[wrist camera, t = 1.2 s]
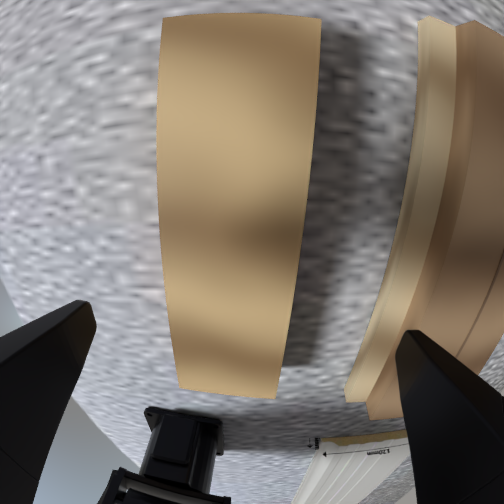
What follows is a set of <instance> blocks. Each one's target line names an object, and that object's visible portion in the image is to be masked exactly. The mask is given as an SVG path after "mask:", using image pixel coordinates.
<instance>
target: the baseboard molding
mask: <svg viewBox="0 0 504 504" xmlns="http://www.w3.org/2000/svg"><path fill="white" fill-rule="evenodd" d="M315 439H318V438H315ZM319 439H320V438H319ZM309 441H310V438H309ZM318 442H319V441H318V440H315V444H318V445H315V446H318V447H315V448H316V449H315V450H316V451H315V454H314V456H313V458H312V461H311V463H310V465H309V467H308V469H307V472H306V474H305V476H304V478H303V480H302V482H301V484H300V486H299V488H298V490H297V492H296V494H295V496H294V498H293V500H292V502H291V504H358V503H359V502H360V501H362V500H363V499H364V498H365V497H366V496H367V495H369V494H370V493H371V492H372V491H373V490H374V489H375V488H376V487H378V486H379V485H380V484H381V483H382V482H383V481H384V480H385V479H386V478H387V477H388V476H389V475H390V474H391V473H392V472H393V471H394V470H395V469H396V468H397V467H398V466H399V465H400V464H401V463H402V462H403V461H404V460H405V459H406V458H407V457H408V456H409V455H410V448H409V442H408V437H407V431H406V430H400V431H393V432H386V433H378V434H370V435H360V436H349V437H335V438H321V440H320V442H319V443H318ZM308 447H309V448H311V447H312V446H308Z"/></svg>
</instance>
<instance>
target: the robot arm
mask: <svg viewBox="0 0 504 504" xmlns="http://www.w3.org/2000/svg"><path fill="white" fill-rule="evenodd" d="M96 327H97V326H96V321H95V317H94V314H93V310H92V307H91V304H90V303H89V302H87V301H83V300H75V301H73V302H71V303H69V304H67V305H65V306H63V307H61V308H59V309H56V310H54V311H52V312H50V313H48V314H46V315H44V316H42V317H40V318H38V319H36V320H34V321H32V322H30V323H28V324H26V325H24V326H22V327H20V328H18V329H16V330H14V331H12V332H10V333H8V334H6V335H4V336H2V337H0V504H33V501H34V497H35V494H36V490H37V487H38V484H39V480H40V477H41V473H42V471H43V468H44V465H45V461H46V459H47V456H48V453H49V450H50V447H51V445H52V442H53V439H54V436H55V434H56V431H57V429H58V426H59V423H60V421H61V418H62V416H63V414H64V411H65V409H66V406H67V404H68V401H69V399H70V397H71V394H72V392H73V390H74V388H75V385H76V383H77V381H78V379H79V376H80V374H81V371H82V369H83V366H84V363H85V360H86V357H87V355H88V352H89V349H90V346H91V343H92V341H93V338H94V335H95V332H96ZM395 362H396V369H397V377H398V385H399V393H400V401H401V407H402V412H403V416H404V421H405V426H406V431H407V437H408V442H409V448H410V454H411V460H412V466H413V473H414V480H415V488H416V497H417V504H504V396H502V395H501V394H500V393H499V392H498V391H497V390H495V389H494V388H493V387H492V386H490V385H489V384H488V383H487V382H485V381H484V380H483V379H482V378H481V377H479V376H478V375H477V374H476V373H474V372H473V371H472V370H471V369H469V368H468V367H467V366H465V365H464V364H463V363H462V362H460V361H459V360H458V359H457V358H455V357H454V356H453V355H451V354H450V353H449V352H448V351H446V350H445V349H444V348H442V347H441V346H440V345H439V344H437V343H436V342H435V341H433V340H432V339H431V338H429V337H428V336H427V335H426V334H424V333H423V332H422V331H420V330H417V329H413V330H406V331H405V332H404V334H403V336H402V338H401V341H400V343H399V345H398V347H397V349H396V353H395ZM144 415H145V417H146V420H147V422H148V425H149V427H150V429H151V432H152V434H151V437H150V440H149V443H148V446H147V449H146V453H145V456H144V459H143V462H142V465H141V468H140V472H139V475H138V474H135V473H132V472H130V471H127V470H126V469H124V468H122V467H120V468H119V470H113V471H112V474H111V477H110V480H109V483H108V485H107V487H106V489H105V491H104V492H103V494H102V496H101V498H100V500H99V501H98V503H97V504H231V497H226V496H223V497H221V496H215V495H210V494H209V493H210V487H211V481H212V475H213V469H214V463H215V457H216V455H218V456H222V455H223V454H224V442H223V423H222V422H221V421H219V420H215V419H208V418H201V417H195V416H188V415H183V414H177V413H172V412H166V411H162V410H157V409H152V408H146V409H145V411H144ZM127 489H128V491H127V493H126V490H127Z"/></svg>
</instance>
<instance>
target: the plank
mask: <svg viewBox="0 0 504 504" xmlns="http://www.w3.org/2000/svg"><path fill="white" fill-rule="evenodd" d="M320 41H321V19H317V18H310V17H301V16H291V15H279V14H262V13H214V14H197V15H185V16H175V17H167V18H163V23H162V33H161V44H160V57H159V72H158V93H157V189H158V211H159V228H160V242H161V254H162V266H163V276H164V285H165V294H166V303H167V311H168V319H169V326H170V333H171V340H172V346H173V353H174V359H175V365H176V371H177V376H178V382H179V387H180V388H183V389H189V390H195V391H202V392H209V393H217V394H225V395H234V396H244V397H255V398H268V399H275V397H276V392H277V387H278V382H279V377H280V372H281V367H282V361H283V356H284V350H285V345H286V339H287V333H288V328H289V322H290V316H291V310H292V303H293V297H294V291H295V284H296V278H297V271H298V264H299V257H300V250H301V243H302V236H303V228H304V220H305V212H306V204H307V196H308V187H309V178H310V169H311V160H312V150H313V139H314V128H315V117H316V105H317V91H318V77H319V61H320Z"/></svg>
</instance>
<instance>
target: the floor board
mask: <svg viewBox="0 0 504 504" xmlns="http://www.w3.org/2000/svg"><path fill="white" fill-rule="evenodd" d="M413 329H417V330H420V331H422V332H423V333H424V334H426V335H427V336H428V337H429V338H431V339H432V340H433V341H435V342H436V343H437V344H439V345H440V346H441V347H442V348H444V349H445V350H446V351H448V352H449V353H450V354H451V355H453V356H454V357H455V358H457V359H458V360H459V361H460V362H462V363H463V364H464V365H465V366H467V367H468V368H469V369H471V370H472V371H473V372H474V373H476V374H477V375H478V374H479V373H480V371H481V370H482V368H483V367H484V365H485V364H486V362H487V360H488V359H489V357H490V356H491V354H492V352H493V351H494V349H495V347H496V346H497V344H498V342H499V340H500V339H501V337H502V335H503V333H504V37H503V36H502V35H500V34H498V33H497V32H495V31H493V30H492V29H490V28H488V27H486V26H485V25H483V24H481V23H479V22H477V21H475V20H474V21H470V22H467V23H464V24H461V25H459V26H456V27H455V26H453V25H451V24H448V23H446V22H444V21H441V20H439V19H436V18H434V17H431V16H428V17H426V18H424V19H422V20H420V21H418V78H417V96H416V108H415V119H414V129H413V137H412V145H411V152H410V159H409V166H408V172H407V178H406V184H405V189H404V195H403V200H402V205H401V210H400V214H399V219H398V224H397V228H396V232H395V237H394V241H393V245H392V249H391V253H390V256H389V260H388V264H387V268H386V271H385V275H384V278H383V282H382V285H381V288H380V292H379V295H378V298H377V301H376V305H375V308H374V311H373V314H372V317H371V320H370V323H369V326H368V328H367V331H366V334H365V337H364V340H363V342H362V345H361V348H360V350H359V353H358V356H357V358H356V361H355V363H354V366H353V368H352V371H351V373H350V376H349V378H348V381H347V383H346V385H345V388H344V393H345V398H346V402H366V406H367V411H368V415H369V420H380V419H390V418H399V417H404V416H403V412H402V407H401V401H400V393H399V385H398V377H397V369H396V362H395V353H396V349H397V347H398V345H399V343H400V341H401V338H402V336H403V334H404V332H405V331H406V330H413Z"/></svg>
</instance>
